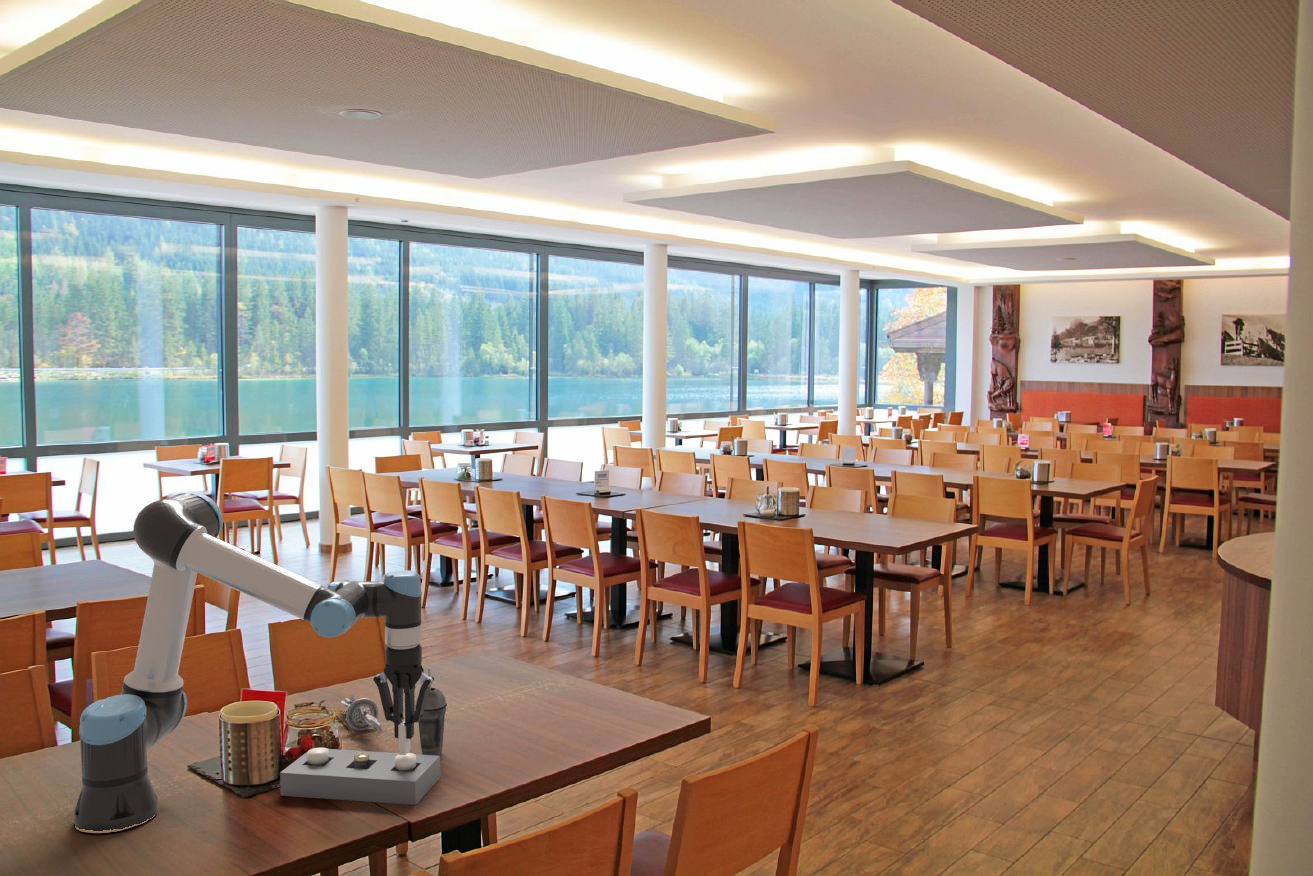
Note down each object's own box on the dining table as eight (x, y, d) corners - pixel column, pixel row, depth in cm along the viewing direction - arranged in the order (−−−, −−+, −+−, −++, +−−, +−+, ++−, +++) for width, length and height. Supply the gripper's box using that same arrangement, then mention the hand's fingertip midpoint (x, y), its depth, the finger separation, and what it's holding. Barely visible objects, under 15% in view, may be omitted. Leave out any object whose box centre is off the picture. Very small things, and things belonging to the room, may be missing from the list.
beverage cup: (420, 762, 234) (418, 676, 232) (412, 751, 240) (411, 668, 239) (451, 756, 237) (450, 672, 236) (442, 746, 244) (441, 663, 242)
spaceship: (358, 723, 236) (389, 705, 240) (325, 696, 267) (353, 680, 270) (372, 753, 238) (403, 734, 241) (338, 722, 268) (366, 706, 272)
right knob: (411, 784, 216) (411, 761, 216) (392, 783, 217) (391, 760, 216) (419, 776, 220) (419, 753, 220) (400, 775, 221) (399, 752, 221)
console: (415, 805, 211) (415, 781, 211) (280, 795, 216) (280, 772, 215) (440, 778, 225) (439, 755, 224) (312, 769, 229) (312, 748, 229)
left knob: (323, 778, 219) (322, 756, 219) (304, 777, 220) (303, 754, 219) (332, 770, 223) (332, 748, 223) (313, 769, 224) (313, 747, 224)
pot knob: (365, 772, 218) (365, 759, 218) (351, 772, 219) (351, 758, 218) (372, 767, 221) (371, 753, 221) (358, 766, 222) (357, 752, 221)
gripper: (439, 641, 219) (439, 748, 221) (381, 638, 221) (382, 744, 223) (426, 650, 212) (426, 761, 213) (366, 647, 214) (368, 757, 215)
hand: (404, 752), depth 218 cm, fingers closed
